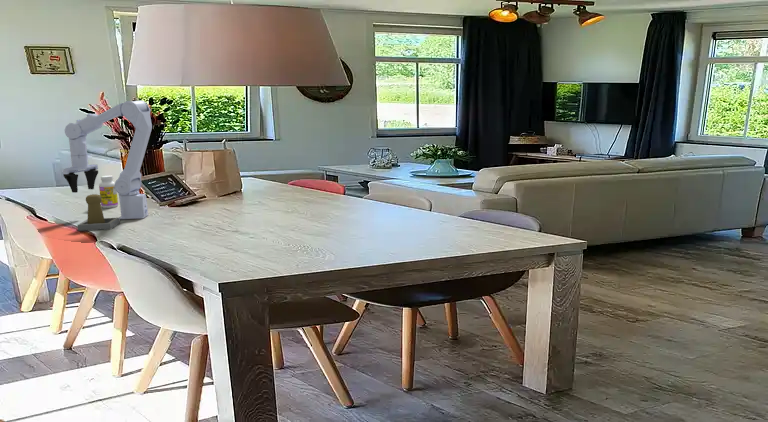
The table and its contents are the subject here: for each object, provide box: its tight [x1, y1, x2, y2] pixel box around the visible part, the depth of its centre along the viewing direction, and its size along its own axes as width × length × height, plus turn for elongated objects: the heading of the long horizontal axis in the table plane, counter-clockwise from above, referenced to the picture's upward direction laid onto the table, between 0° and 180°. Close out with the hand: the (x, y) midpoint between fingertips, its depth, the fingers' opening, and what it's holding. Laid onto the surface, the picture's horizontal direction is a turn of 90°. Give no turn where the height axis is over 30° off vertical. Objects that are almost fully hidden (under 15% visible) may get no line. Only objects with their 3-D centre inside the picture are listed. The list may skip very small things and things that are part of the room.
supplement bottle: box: [98, 175, 119, 209], centre depth 285 cm, size 7×7×13 cm
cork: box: [85, 193, 105, 224], centre depth 245 cm, size 6×6×11 cm
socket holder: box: [77, 217, 121, 232], centre depth 245 cm, size 11×11×2 cm
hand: (83, 190), depth 262 cm, fingers open, 7 cm apart
